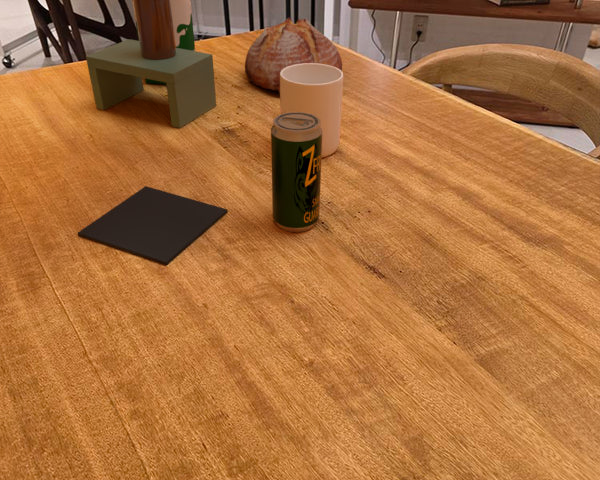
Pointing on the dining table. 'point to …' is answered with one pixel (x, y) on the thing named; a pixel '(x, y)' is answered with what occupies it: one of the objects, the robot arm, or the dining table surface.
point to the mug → (315, 98)
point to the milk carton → (179, 27)
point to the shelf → (173, 71)
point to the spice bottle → (155, 29)
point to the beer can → (296, 170)
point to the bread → (287, 52)
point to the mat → (154, 224)
